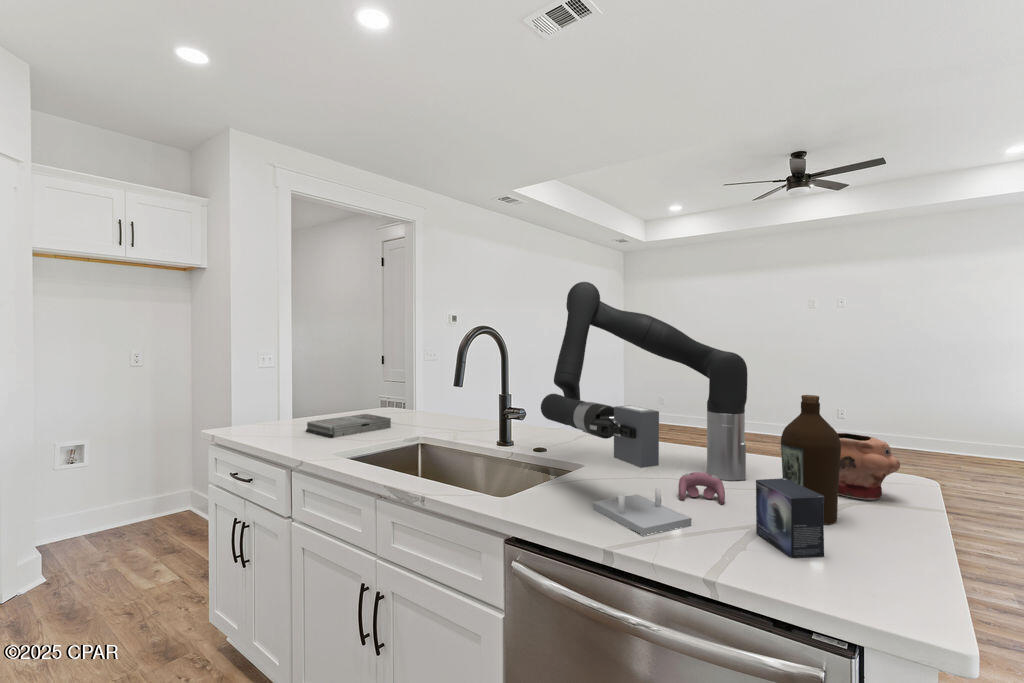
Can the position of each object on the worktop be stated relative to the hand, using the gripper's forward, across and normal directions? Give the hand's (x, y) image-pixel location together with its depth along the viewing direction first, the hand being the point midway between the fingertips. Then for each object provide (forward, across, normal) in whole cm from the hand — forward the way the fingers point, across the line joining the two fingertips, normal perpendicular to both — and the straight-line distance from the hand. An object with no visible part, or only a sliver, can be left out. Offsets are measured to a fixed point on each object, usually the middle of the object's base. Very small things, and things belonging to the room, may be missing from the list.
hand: (644, 432), depth 99 cm
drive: (-3, 0, +6) cm, 7 cm away
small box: (+21, +15, +18) cm, 31 cm away
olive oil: (+13, +32, +18) cm, 39 cm away
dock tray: (-1, 0, +18) cm, 18 cm away
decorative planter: (+7, +55, +18) cm, 58 cm away
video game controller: (-4, +20, +18) cm, 27 cm away
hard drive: (-126, -43, +19) cm, 134 cm away
